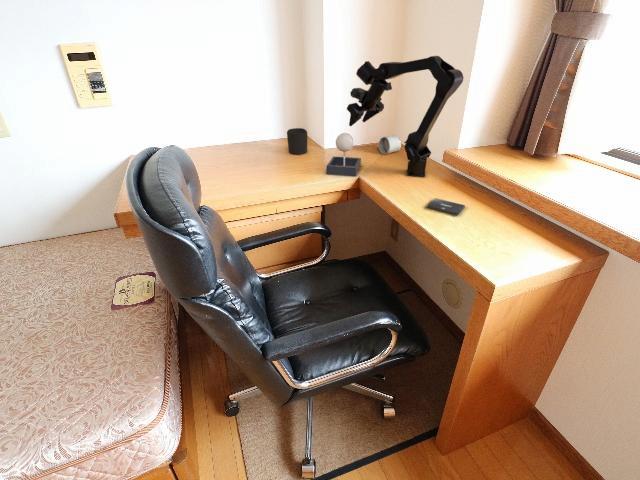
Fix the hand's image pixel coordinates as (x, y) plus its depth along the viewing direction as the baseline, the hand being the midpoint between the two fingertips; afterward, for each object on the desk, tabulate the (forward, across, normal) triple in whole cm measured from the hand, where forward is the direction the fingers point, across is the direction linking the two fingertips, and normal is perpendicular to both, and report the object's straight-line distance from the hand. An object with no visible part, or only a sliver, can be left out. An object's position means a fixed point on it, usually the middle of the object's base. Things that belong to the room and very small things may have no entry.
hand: (356, 123), depth 150 cm
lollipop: (+9, +16, +14) cm, 23 cm away
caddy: (+9, +16, +13) cm, 23 cm away
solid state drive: (-16, +21, +53) cm, 59 cm away
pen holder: (+26, +11, -13) cm, 32 cm away
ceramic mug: (+9, -16, +14) cm, 23 cm away
